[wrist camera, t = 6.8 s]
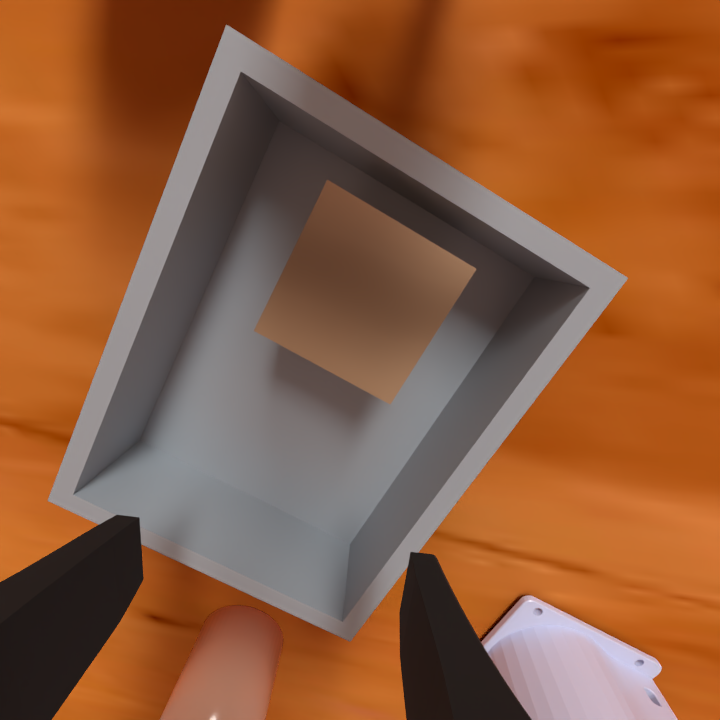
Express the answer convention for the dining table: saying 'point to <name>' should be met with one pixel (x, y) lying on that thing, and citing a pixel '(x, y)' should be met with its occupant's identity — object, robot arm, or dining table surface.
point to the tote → (300, 376)
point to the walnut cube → (362, 294)
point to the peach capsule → (229, 668)
